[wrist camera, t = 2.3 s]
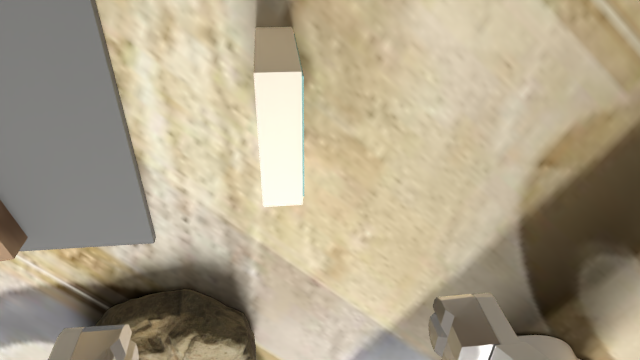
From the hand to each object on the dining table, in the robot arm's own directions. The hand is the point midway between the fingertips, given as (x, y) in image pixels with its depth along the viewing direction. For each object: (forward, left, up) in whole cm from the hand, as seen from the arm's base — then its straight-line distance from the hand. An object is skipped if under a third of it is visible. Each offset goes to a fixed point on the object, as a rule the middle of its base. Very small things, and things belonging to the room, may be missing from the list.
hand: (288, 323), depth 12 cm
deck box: (0, 0, -17) cm, 17 cm away
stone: (-22, +9, -17) cm, 30 cm away
